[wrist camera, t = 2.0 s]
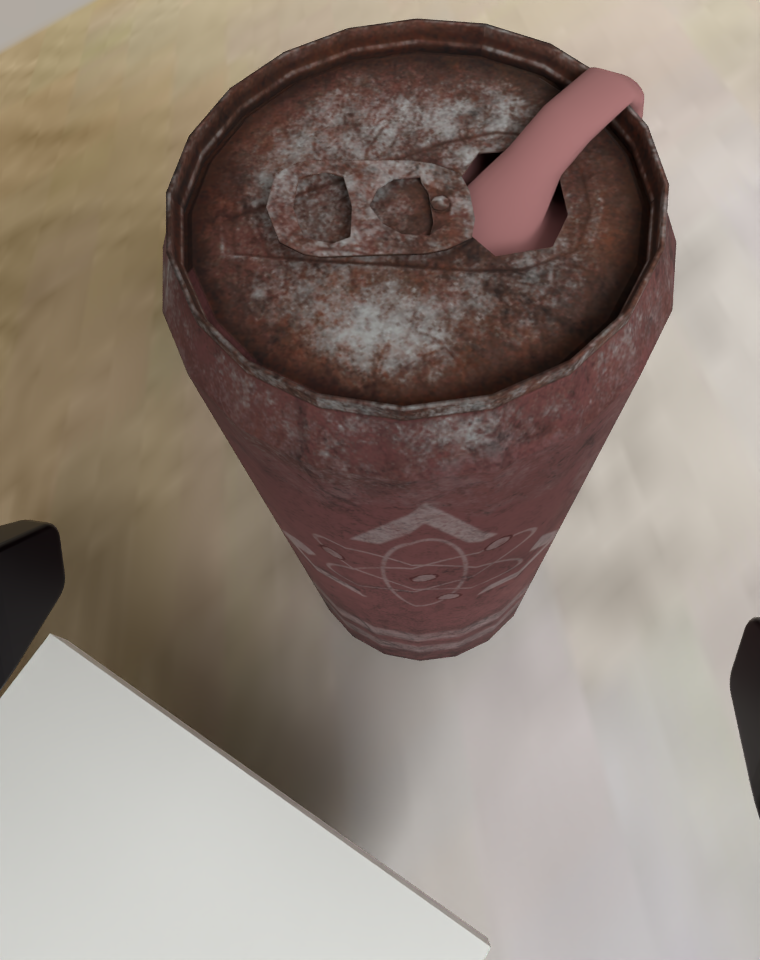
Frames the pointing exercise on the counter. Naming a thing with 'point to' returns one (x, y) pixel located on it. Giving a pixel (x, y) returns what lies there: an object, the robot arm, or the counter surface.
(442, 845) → the counter surface
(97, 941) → the trapdoor
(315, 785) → the counter surface
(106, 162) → the counter surface
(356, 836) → the counter surface
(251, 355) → the can
